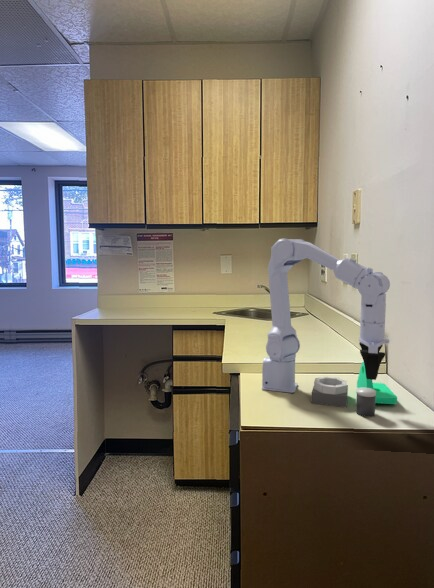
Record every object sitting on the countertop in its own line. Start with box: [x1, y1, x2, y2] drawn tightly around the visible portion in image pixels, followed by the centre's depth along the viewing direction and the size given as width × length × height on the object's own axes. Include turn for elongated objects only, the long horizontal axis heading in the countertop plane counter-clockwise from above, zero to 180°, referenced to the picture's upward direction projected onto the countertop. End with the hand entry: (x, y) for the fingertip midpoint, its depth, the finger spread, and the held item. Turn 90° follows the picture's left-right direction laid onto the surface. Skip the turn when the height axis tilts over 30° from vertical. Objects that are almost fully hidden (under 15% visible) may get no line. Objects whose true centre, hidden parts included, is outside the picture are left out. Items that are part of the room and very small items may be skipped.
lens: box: [355, 387, 376, 418], centre depth 98 cm, size 5×5×6 cm
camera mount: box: [356, 361, 398, 405], centre depth 108 cm, size 12×8×10 cm, turn 174°
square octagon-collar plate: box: [311, 376, 349, 408], centre depth 108 cm, size 9×9×5 cm
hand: (370, 374), depth 99 cm, fingers open, 7 cm apart
